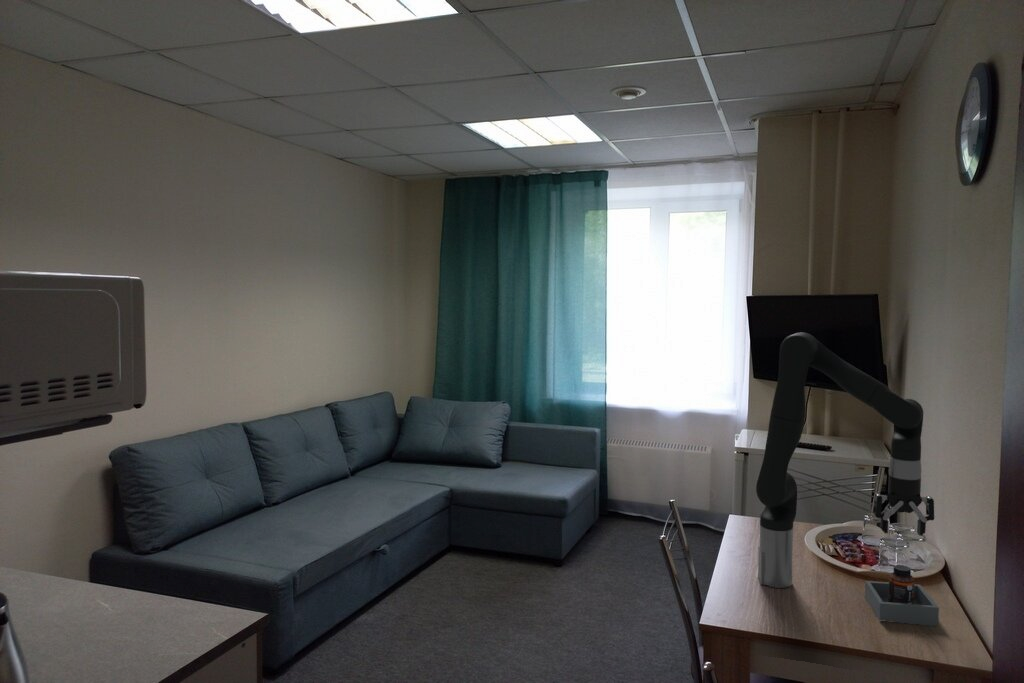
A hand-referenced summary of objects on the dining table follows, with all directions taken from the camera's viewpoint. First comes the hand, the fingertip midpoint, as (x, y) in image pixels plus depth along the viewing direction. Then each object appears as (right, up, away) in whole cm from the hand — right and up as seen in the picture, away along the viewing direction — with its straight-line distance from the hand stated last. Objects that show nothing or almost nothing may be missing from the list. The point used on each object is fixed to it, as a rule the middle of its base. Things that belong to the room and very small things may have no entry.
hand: (902, 533), depth 189 cm
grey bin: (0, -22, +2) cm, 22 cm away
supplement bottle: (+1, -21, +2) cm, 21 cm away
